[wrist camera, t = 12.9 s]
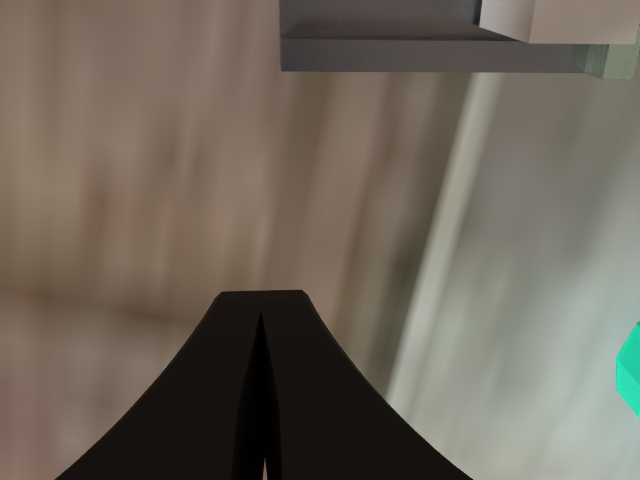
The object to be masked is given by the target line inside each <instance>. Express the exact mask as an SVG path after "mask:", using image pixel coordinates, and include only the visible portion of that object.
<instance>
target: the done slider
mask: <svg viewBox="0 0 640 480" xmlns="http://www.w3.org/2000/svg"><path fill="white" fill-rule="evenodd" d="M639 23H640V0H482V8H481V16H480V25H479V27H481V28H484V29H487V30H490V31H493V32H496V33H499V34H502V35H505V36H508V37H511V38H514V39H517V40H520V41H523V42H526V43H535V44H635V41H636V36H637V32H638V27H639Z"/></svg>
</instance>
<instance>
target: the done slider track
mask: <svg viewBox="0 0 640 480" xmlns="http://www.w3.org/2000/svg"><path fill="white" fill-rule="evenodd" d="M481 8H482V0H280V65H281V71H322V72H523V73H586V74H589V75H591V76H594V77H597V78H600V79H602V80H632V79H633V75H634V70H635V66H636V62H637V57H638V53H639V49H640V23H639V27H638V32H637V36H636V41H635V44H535V43H526V42H523V41H520V40H517V39H514V38H511V37H508V36H505V35H502V34H499V33H496V32H493V31H490V30H487V29H484V28H481V27H479V25H480V16H481Z"/></svg>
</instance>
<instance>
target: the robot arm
mask: <svg viewBox="0 0 640 480" xmlns="http://www.w3.org/2000/svg"><path fill="white" fill-rule="evenodd" d="M264 461H265V462H266V471H267V480H473V479H472V478H470V477H469V476H468V475H466V474H465V473H464V472H462V471H461V470H460V469H458V468H457V467H456V466H455V465H453V464H452V463H451V462H450V461H449V460H447V459H446V458H445V457H444V456H443V455H441V454H440V453H439V452H438V451H437V450H436V449H434V448H433V447H432V446H431V445H430V444H429V443H428V442H427V441H426V440H425V439H424V438H422V437H421V436H420V435H419V434H418V433H417V432H416V431H415V430H414V429H413V428H412V427H411V426H410V425H409V424H408V423H407V422H406V421H405V420H404V419H403V418H401V417H400V415H399V414H398V413H397V412H396V411H395V410H394V409H393V408H392V407H391V406H390V405H389V404H388V403H387V402H386V401H385V400H384V399H383V398H382V396H381V395H380V394H379V393H378V392H377V391H376V390H375V389H374V388H373V386H372V385H371V384H370V383H369V382H368V381H367V380H366V378H365V377H364V376H363V375H362V374H361V372H360V371H359V370H358V369H357V368H356V366H355V365H354V364H353V362H352V361H351V360H350V359H349V357H348V356H347V355H346V353H345V352H344V351H343V349H342V348H341V347H340V346H339V344H338V343H337V341H336V340H335V339H334V337H333V336H332V334H331V333H330V331H329V330H328V328H327V327H326V325H325V324H324V322H323V321H322V319H321V318H320V316H319V315H318V313H317V311H316V309H315V308H314V306H313V304H312V302H311V300H310V298H309V296H308V295H307V294H306V293H305V292H304V291H303V290H270V291H229V292H221V293H220V294H219V295H218V296H217V297H216V298H215V299H214V301H213V303H212V304H211V306H210V308H209V309H208V311H207V312H206V314H205V315H204V317H203V319H202V320H201V322H200V323H199V324H198V326H197V327H196V329H195V330H194V332H193V333H192V334H191V336H190V337H189V339H188V340H187V341H186V343H185V344H184V345H183V346H182V348H181V349H180V350H179V352H178V353H177V354H176V356H175V357H174V358H173V359H172V361H171V362H170V363H169V365H168V366H167V367H166V368H165V370H164V371H163V372H162V373H161V374H160V376H159V377H158V378H157V379H156V380H155V381H154V382H153V384H152V385H151V386H150V387H149V388H148V389H147V390H146V391H145V393H144V394H143V395H142V396H141V397H140V398H139V399H138V400H137V402H136V403H135V404H134V405H133V406H132V407H131V408H130V409H129V410H128V411H127V413H126V414H125V415H124V416H123V417H122V418H121V419H120V420H119V421H118V422H117V423H116V424H115V425H114V426H113V427H112V428H111V429H110V430H109V431H108V432H107V433H106V434H105V435H104V436H103V437H102V438H101V439H100V440H99V441H97V442H96V443H95V444H94V445H93V446H92V447H91V448H90V449H89V450H88V451H87V452H86V453H85V454H84V455H82V456H81V457H80V458H79V459H78V460H77V461H76V462H75V463H74V464H73V465H71V466H70V467H69V468H68V469H67V470H66V471H64V472H63V473H62V474H61V475H60V476H58V477H57V478H56V479H55V480H263V471H264Z"/></svg>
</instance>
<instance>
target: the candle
mask: <svg viewBox="0 0 640 480" xmlns="http://www.w3.org/2000/svg"><path fill="white" fill-rule="evenodd" d="M616 375H617V391H618V392H619V394H620V395H621V396H622V397H623V399H624V400H625V401H626V402H627V403H628V405H629V406H630V407H631V408H632V410H633V411H634V412H635V413H636V415H637V416H638V417H639V418H640V322H639V323H638V324H637V325H636V326H635V328H634V330H633V331H632V333H631V335H630V336H629V338H628V340H627V341H626V343H625V345H624V346H623V348H622V350H621V351H620V353H619V355H618V356H617V358H616Z"/></svg>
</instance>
